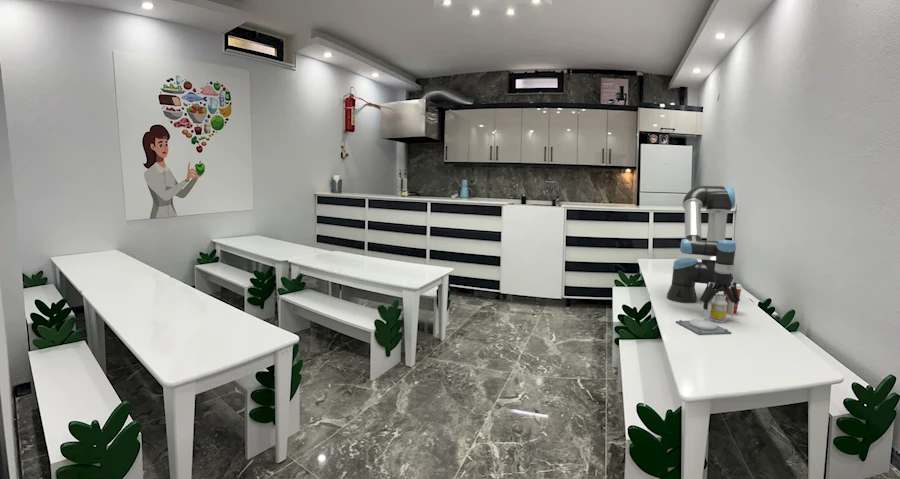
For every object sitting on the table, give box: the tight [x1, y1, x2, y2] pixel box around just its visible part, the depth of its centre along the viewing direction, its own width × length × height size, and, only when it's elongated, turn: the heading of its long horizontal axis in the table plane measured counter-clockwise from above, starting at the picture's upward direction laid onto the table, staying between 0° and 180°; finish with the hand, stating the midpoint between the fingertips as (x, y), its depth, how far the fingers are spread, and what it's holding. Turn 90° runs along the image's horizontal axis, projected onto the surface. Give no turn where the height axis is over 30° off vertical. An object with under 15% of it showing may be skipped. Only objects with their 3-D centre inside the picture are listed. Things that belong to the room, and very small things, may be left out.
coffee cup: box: [723, 283, 743, 315], centre depth 226 cm, size 8×8×15 cm
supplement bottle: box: [709, 293, 728, 323], centre depth 213 cm, size 7×7×13 cm
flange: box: [675, 318, 732, 336], centre depth 203 cm, size 16×16×2 cm
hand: (718, 315), depth 214 cm, fingers open, 12 cm apart
